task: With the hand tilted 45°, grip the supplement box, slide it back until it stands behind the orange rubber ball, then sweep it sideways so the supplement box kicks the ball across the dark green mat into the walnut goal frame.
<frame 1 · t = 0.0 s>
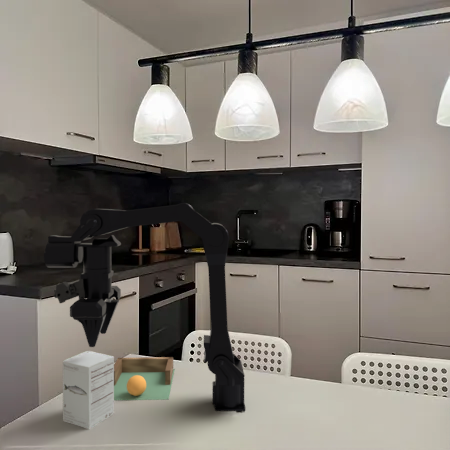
hand: (97, 339, 91), 15 cm above the table, tool pointing down, fingers open, 9 cm apart
ball: (136, 394, 97), resting on pitch mat
supplement box: (89, 419, 86), on the table
goal: (143, 377, 107), resting on pitch mat
pitch mat: (142, 384, 103), on the table
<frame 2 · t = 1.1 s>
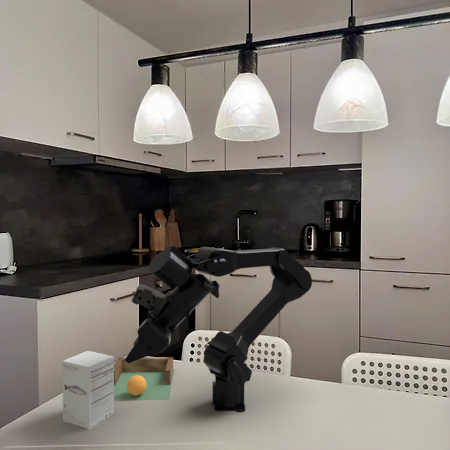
hand: (130, 353, 86), 13 cm above the table, tool tilted 45°, fingers open, 9 cm apart
nothing on the table moved.
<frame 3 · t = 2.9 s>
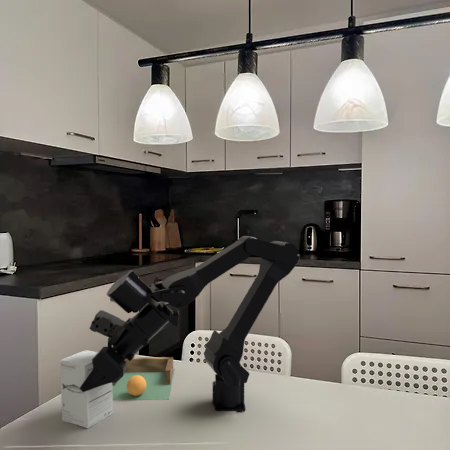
hand: (88, 380, 86), 8 cm above the table, tool tilted 45°, fingers open, 9 cm apart
supplement box: (88, 418, 86), on the table, touching gripper
everything else where it was.
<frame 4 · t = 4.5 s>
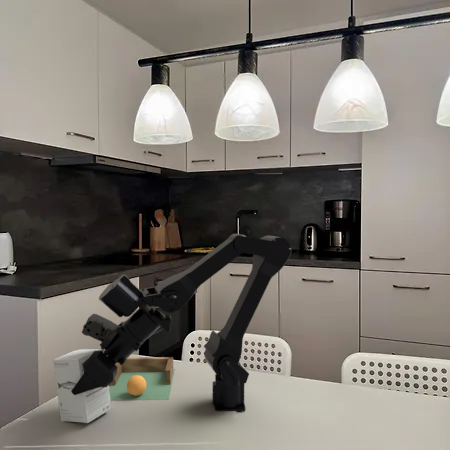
hand: (80, 383, 86), 7 cm above the table, tool tilted 45°, fingers closed on supplement box, 9 cm apart
supplement box: (87, 416, 87), on the table, touching gripper
everything else where it was.
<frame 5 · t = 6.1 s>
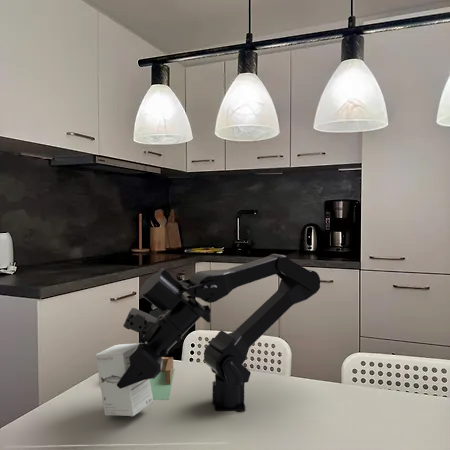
hand: (122, 377, 87), 8 cm above the table, tool tilted 45°, fingers closed on supplement box, 9 cm apart
supplement box: (130, 409, 87), point 1 cm above the table, touching gripper
everything else where it was.
when the fingers open (8 cm above the table, at t = 8.7 s): supplement box stays where it is, resting on pitch mat.
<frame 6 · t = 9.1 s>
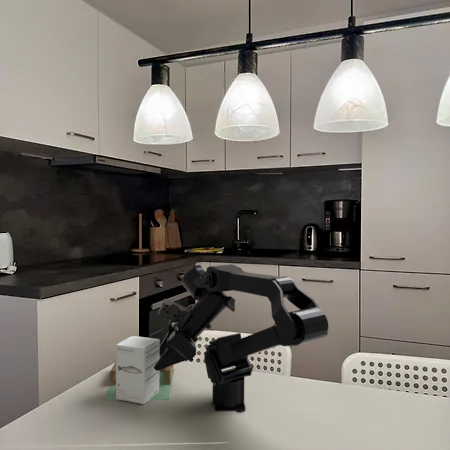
hand: (156, 361, 96), 8 cm above the table, tool tilted 45°, fingers open, 9 cm apart
ball: (149, 364, 104), point 5 cm above the table, tilted 168°, touching pitch mat
supplement box: (138, 396, 96), resting on pitch mat
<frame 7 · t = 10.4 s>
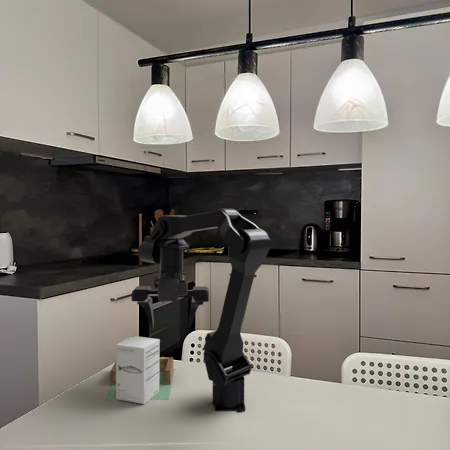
hand: (171, 328, 106), 13 cm above the table, tool pointing down, fingers open, 9 cm apart
ball: (149, 369, 101), point 4 cm above the table, tilted 145°, touching pitch mat
everything else where it was.
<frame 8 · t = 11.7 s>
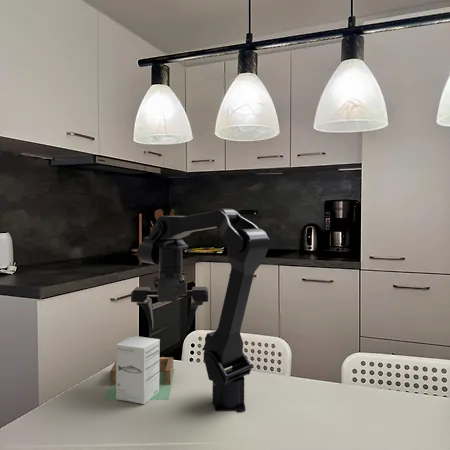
hand: (170, 328, 105), 13 cm above the table, tool pointing down, fingers open, 9 cm apart
ball: (152, 366, 103), point 5 cm above the table, tilted 156°, touching pitch mat
everything else where it was.
at the end: ball inside the target area on the goal (4.0 cm from its centre), point 4.2 cm above the goal's base; the gripper is holding nothing; supplement box moved 12.7 cm from its start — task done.
